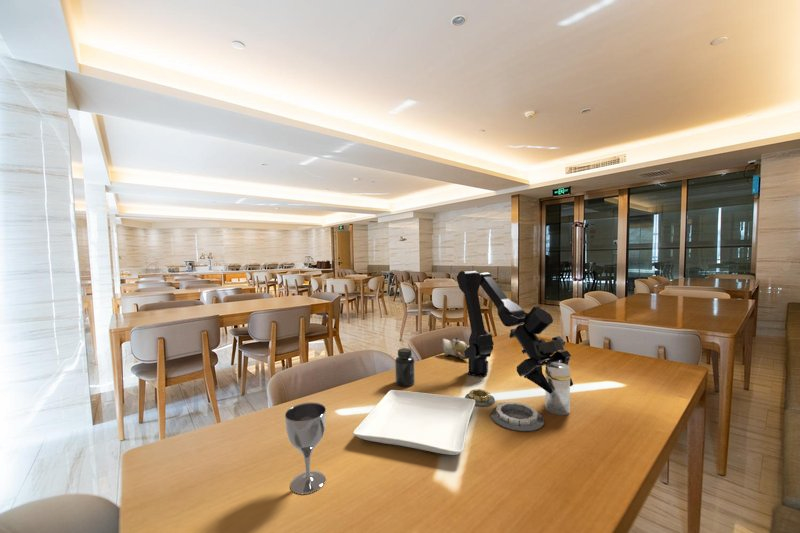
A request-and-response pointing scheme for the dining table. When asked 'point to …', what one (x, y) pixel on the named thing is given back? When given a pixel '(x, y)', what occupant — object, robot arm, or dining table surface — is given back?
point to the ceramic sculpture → (455, 348)
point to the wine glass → (306, 442)
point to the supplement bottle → (404, 368)
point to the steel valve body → (558, 388)
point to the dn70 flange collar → (517, 417)
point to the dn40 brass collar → (481, 397)
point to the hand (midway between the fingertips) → (561, 389)
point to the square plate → (419, 421)
